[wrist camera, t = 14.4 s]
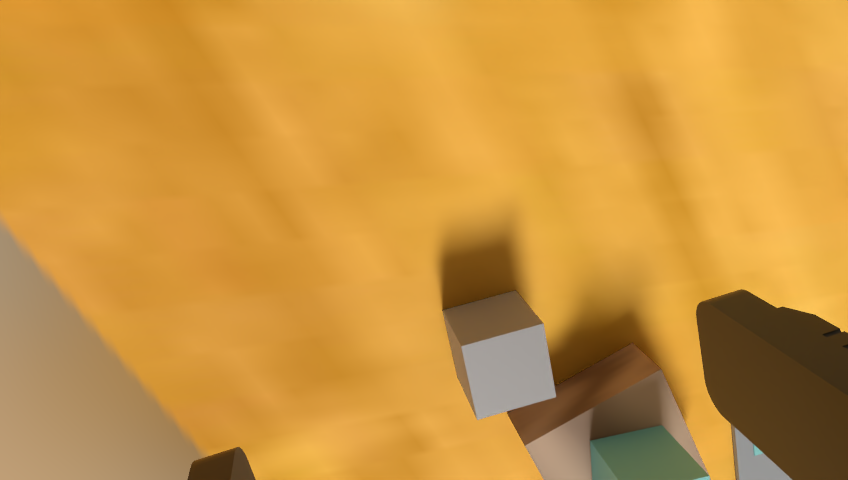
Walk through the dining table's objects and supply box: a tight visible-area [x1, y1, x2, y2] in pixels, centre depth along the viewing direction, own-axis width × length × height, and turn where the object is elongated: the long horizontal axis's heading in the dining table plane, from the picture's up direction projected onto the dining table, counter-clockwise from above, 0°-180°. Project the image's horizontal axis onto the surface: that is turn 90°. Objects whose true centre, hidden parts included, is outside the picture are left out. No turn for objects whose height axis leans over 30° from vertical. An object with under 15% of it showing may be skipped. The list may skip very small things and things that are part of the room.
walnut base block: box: [507, 343, 711, 480], centre depth 43 cm, size 9×9×4 cm
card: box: [731, 424, 792, 480], centre depth 47 cm, size 8×10×1 cm
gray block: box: [442, 290, 556, 420], centre depth 39 cm, size 4×4×5 cm
